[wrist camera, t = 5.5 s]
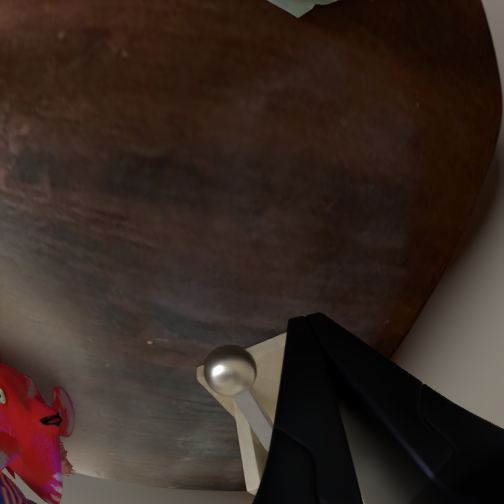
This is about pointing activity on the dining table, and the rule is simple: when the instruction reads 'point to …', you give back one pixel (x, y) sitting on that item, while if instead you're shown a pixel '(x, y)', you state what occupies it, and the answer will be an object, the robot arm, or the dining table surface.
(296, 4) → the control box
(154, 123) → the dining table surface
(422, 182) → the dining table surface
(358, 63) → the dining table surface
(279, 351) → the bracket
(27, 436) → the decorative fish
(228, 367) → the lever
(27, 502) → the sculpture
